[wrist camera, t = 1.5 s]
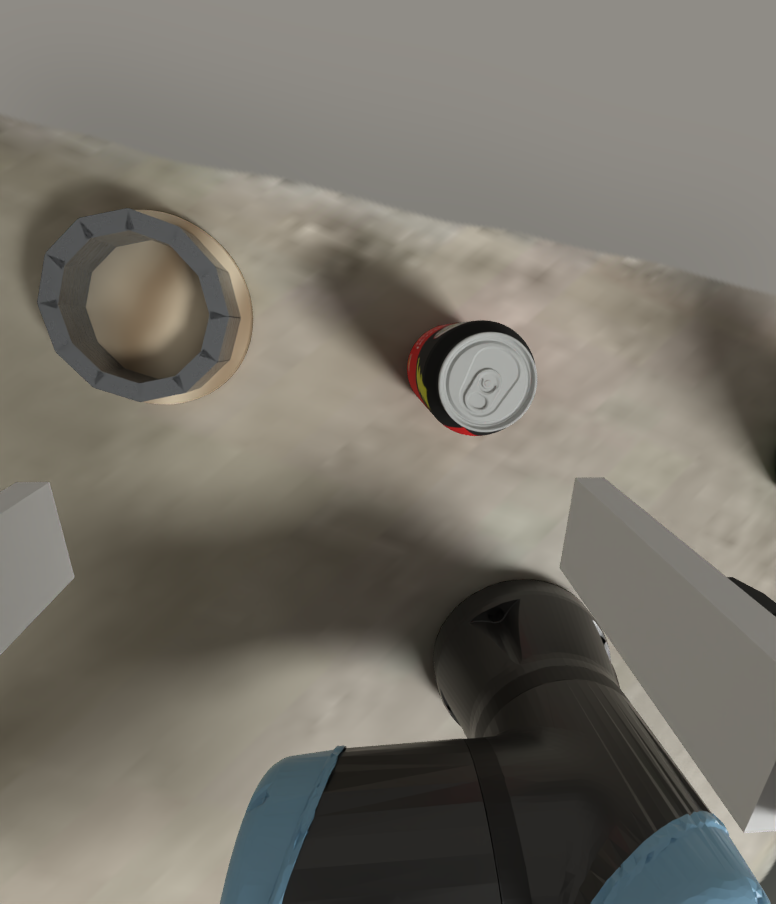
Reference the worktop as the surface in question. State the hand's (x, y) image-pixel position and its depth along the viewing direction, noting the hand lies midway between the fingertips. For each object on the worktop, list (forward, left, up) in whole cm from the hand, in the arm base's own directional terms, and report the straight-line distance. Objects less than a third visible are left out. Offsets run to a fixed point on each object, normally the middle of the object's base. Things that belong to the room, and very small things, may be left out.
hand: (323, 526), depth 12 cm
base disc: (+15, -2, -24) cm, 28 cm away
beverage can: (-6, -5, -25) cm, 26 cm away
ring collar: (+15, -2, -24) cm, 28 cm away
